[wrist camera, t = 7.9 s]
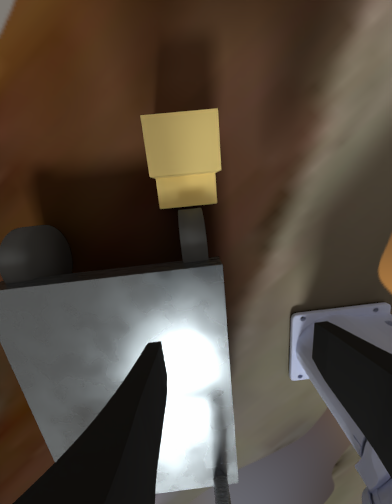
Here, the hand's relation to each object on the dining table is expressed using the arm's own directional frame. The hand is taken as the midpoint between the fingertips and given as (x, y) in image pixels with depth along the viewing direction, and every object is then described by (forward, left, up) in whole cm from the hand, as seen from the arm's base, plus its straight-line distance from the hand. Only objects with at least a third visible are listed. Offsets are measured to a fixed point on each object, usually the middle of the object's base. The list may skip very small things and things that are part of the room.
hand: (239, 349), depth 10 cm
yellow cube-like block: (+2, -9, -10) cm, 13 cm away
